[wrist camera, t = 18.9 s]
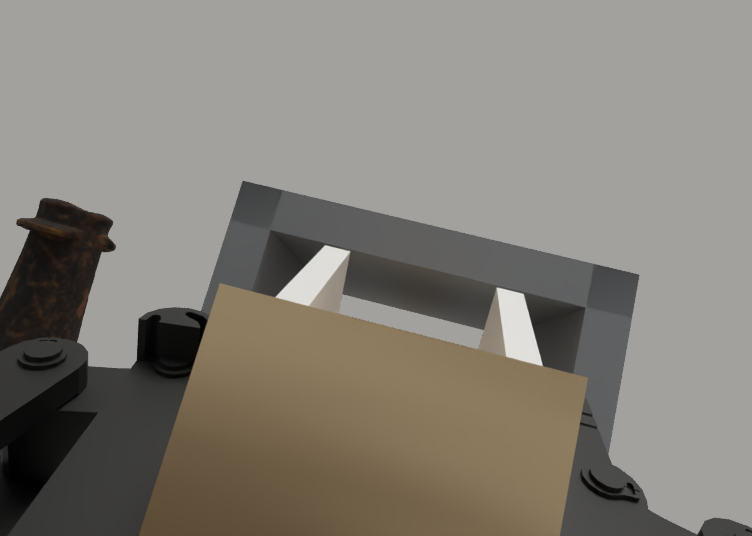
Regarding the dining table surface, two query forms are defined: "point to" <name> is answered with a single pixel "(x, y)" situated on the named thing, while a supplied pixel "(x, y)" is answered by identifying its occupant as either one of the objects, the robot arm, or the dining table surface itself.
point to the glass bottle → (53, 273)
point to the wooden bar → (360, 432)
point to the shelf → (438, 279)
